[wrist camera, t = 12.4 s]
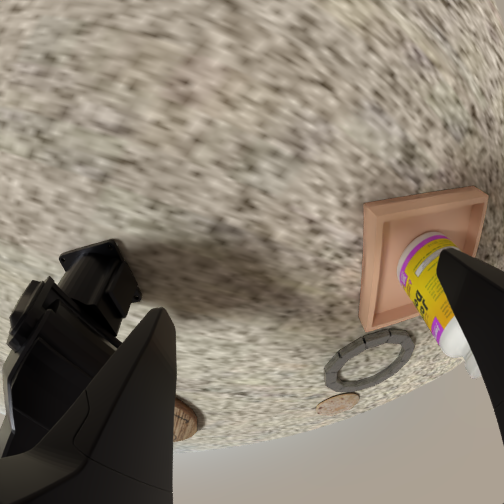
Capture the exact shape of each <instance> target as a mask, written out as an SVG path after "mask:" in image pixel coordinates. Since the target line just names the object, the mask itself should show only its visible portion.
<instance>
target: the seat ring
mask: <svg viewBox="0 0 504 504" xmlns="http://www.w3.org/2000/svg"><path fill="white" fill-rule="evenodd" d="M384 343H395V344H401V345H402V349H401V352H400V354H399V357H398V358H397V359H396V360H395V361H394V362H393V363H392V364H391V365H390V366H389V367H388V368H386V369H385V370H383V371H381V372H379V373H378V374H376V375H374V376H372V377H369V378H366V379H363V380H359V381H341V380H340V379H338V378H337V372H338V371H339V370H340V369H341V367H342V366H343V365H344V364H345V363H346V362H347V361H348V360H349V359H351V358H353V357H354V356H356V355H358V354H359V353H361V352H363V351H364V350H366V349H368V348H372V347H375V346H378V345H381V344H384ZM414 347H415V345H414V343H413V341H412V339H411V338H410V336H409V334H408V333H407V331H405V330H397V329H388V330H387V329H385V330H382V331H379V332H375V333H372V334H368V335H365V336H363V338H362V337H360V338H359V339H357V340H356V341H354V342H352V343H351V344H349V345H347V346H346V347H344V348H342V349H341V350H339V352H337V353H336V354H335V355H334V356H333V358H332V359H331V360H330V361H329V362H328V363H327V365H326V366H325V368H324V382H325V385H326V386H327V387H329V388H330V389H332V390H334V391H336V392H354V391H359V390H362V389H365V388H369V387H372V386H375V384H376V385H377V384H379V383H381V382H382V381H384V380H386V379H388V378H389V377H391V376H393V375H394V373H397V372H398V371H399V370H400V369H401V368H402V367H403V366H404V365H405V364H406V363H407V362H408V361H409V359H410V357H411V355H412V352H413V350H414Z"/></svg>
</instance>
